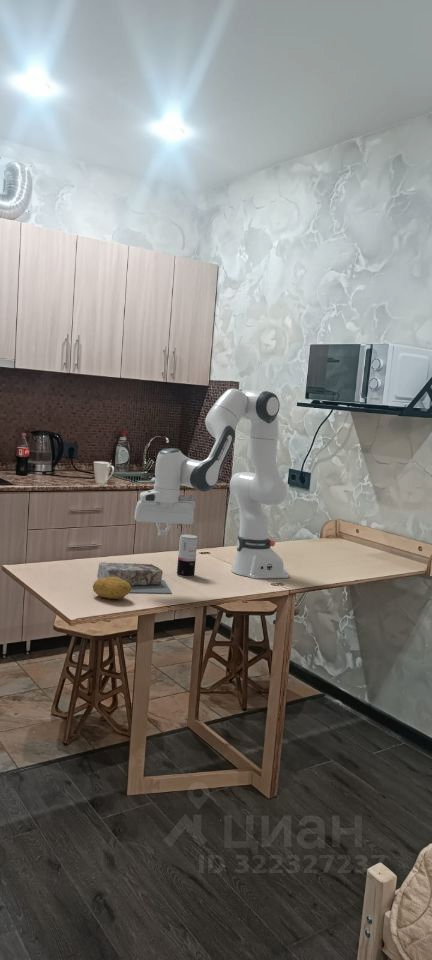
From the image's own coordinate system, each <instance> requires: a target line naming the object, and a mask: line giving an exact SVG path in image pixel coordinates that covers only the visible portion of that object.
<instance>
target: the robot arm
mask: <svg viewBox="0 0 432 960" xmlns="http://www.w3.org/2000/svg"><path fill="white" fill-rule="evenodd" d="M279 412H280V400H279V398H278V396H277V394H275V393H273V392H272V391H268V390H267V391H265V390H259V389H238V388H228V389H227V390H226V391H225V392H223V393H222V394H221V396H220V397H219V398H218V399H217V400H216V401H215V403H214V404H213V405H212V406H211V408H210V410H209V411H208V413H207V415H206V417H205V419H204V422H205V427H206V430H207V431H208V433H209V434H210V435H211V436H212V437H213V438H214V439H215V441H214V443H213V447H212V448H211V451H210V453H209V454H208V457H207V458H206V459H204V460H197V459H192V458H190V457H188V456H186V455H185V454H183V452H182V451H181V450H180V449H179V448H175V447H171V448H169V447H168V448H163V449H161V450H160V451H158V454H157V456H156V461H155V468H154V469H155V470H154V476H155V481H154V484H153V489H149V490H146V491H142V492H140V494H139V500H138V501H137V503H136V506H135V510H134V520H135V521H136V522H137V523H151V524H152V523H154V524H155V527H157V530H158V531H157V532H158V533H157V534H158V537H168V533H169V531H170V529H171V528H172V524H174V525H175V524H177V525H192V524H194V519H195V515H194V514H195V512H194V510H195V509H196V501H195V499H194V498H192V497H189V496H187V497H185V496H180V489H181V487H180V486H185V487H188V488H192V489H196V490H198V491H201V492H203V493H204V492H209V491H211V490H213V488H214V487H216V485H217V484H218V481H219V479H220V474H221V471H222V469H223V466H224V465H225V462H226V460H227V458H228V455H229V454H230V451H231V449H232V447H233V445H234V443H235V439H236V431H235V430H236V427H238V425H239V424H238V423H239V422H240V421H241V420H242V419H244V420H245V419H246V420H250V422H251V424H250V425H251V426H250V429H249V437H248V442H247V443H248V446H247V452H246V455H247V459H248V460H249V462H250V463H251V464H252V466H253V469H254V472H249V471H242V472H241V471H240V472H236V473H234V474H233V475H232V477H231V478H230V480H229V491H230V493H231V494H232V495H233V497H234V499H235V501H236V503H237V507H238V511H239V531H238V535H237V539H236V554H235V557H234V562H233V566H232V567H231V572H232V573H234V574H237V575H239V576H245V577H248V578H252V579H258V580H259V579H282V578H283V579H284V578H285V579H287V578H289V577H290V573H289V572H288V570H286V569H285V567H284V561H283V558H282V557H281V556H280V555H279V554H278V553H277V552H275V550H273V549H272V548H271V547H275V546H276V542H275V541H274V540H271V539H269V538H268V531H269V520H270V519H269V517H268V515H267V514H266V513H265V511H264V510H263V506H262V505H268V506H276V505H281V504H282V503H283V502H285V500H286V497H287V494H288V486H287V484H286V482H285V481H284V480H283V478H282V476H281V474H280V472H279V469H278V464H277V450H278V449H277V448H278V439H279V417H278V415H279ZM161 524H166V528H165V529H161V526H162V525H161Z"/></svg>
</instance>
